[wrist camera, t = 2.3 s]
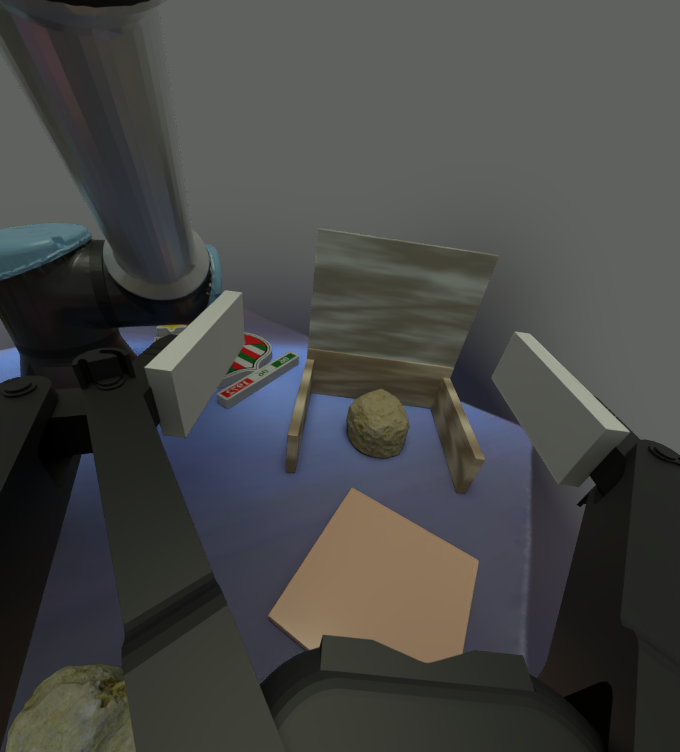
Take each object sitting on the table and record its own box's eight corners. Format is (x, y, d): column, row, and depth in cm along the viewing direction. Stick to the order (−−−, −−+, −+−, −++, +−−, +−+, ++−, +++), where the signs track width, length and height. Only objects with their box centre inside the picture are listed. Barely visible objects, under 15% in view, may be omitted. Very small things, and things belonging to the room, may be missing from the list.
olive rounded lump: (374, 429, 55) (352, 382, 52) (427, 430, 48) (406, 376, 45) (349, 466, 49) (322, 415, 45) (406, 473, 42) (379, 414, 39)
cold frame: (464, 493, 42) (577, 307, 27) (285, 472, 41) (295, 265, 26) (435, 405, 57) (496, 254, 42) (305, 387, 56) (318, 227, 41)
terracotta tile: (268, 618, 28) (268, 615, 27) (350, 491, 40) (351, 487, 39) (439, 761, 22) (443, 760, 22) (475, 564, 34) (478, 560, 34)
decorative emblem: (226, 401, 48) (116, 334, 59) (227, 412, 49) (119, 345, 60) (300, 355, 62) (199, 308, 73) (299, 365, 63) (201, 317, 74)
